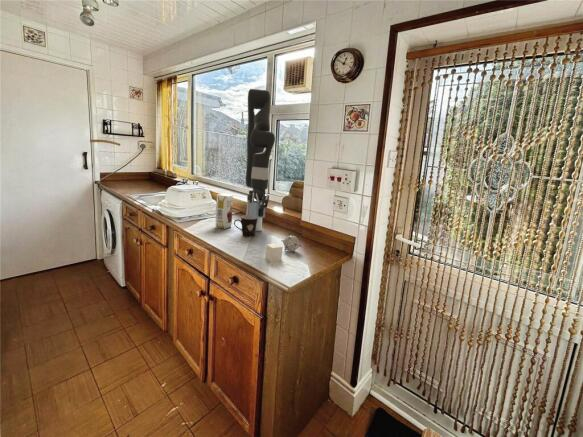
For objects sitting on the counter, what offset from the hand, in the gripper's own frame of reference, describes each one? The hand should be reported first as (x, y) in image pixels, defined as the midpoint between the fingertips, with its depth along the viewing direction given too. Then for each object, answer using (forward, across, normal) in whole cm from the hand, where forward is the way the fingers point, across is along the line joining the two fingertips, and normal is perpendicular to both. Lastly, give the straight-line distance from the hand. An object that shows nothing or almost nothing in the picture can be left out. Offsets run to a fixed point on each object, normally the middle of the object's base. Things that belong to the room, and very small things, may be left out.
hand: (257, 215), depth 135 cm
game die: (+16, +9, +14) cm, 23 cm away
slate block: (+1, 0, 0) cm, 1 cm away
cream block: (+16, +14, +1) cm, 22 cm away
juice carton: (+17, -41, +3) cm, 44 cm away
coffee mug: (+17, -22, +7) cm, 28 cm away
